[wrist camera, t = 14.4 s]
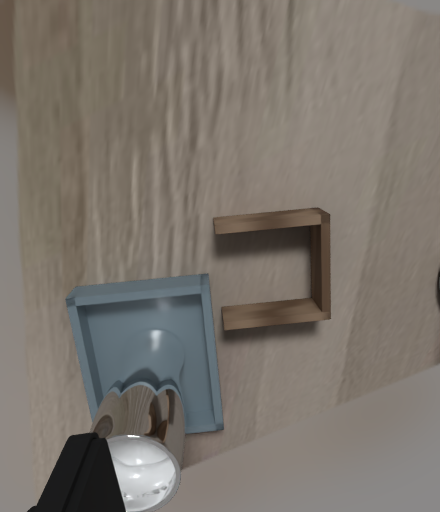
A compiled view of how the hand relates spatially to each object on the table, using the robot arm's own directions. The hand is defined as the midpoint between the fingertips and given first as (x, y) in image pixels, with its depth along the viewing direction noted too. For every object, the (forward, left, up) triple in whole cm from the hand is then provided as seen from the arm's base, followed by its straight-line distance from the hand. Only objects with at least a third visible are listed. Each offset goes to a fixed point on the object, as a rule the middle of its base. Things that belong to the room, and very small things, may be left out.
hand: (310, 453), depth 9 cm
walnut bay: (-4, +5, -29) cm, 30 cm away
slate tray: (+9, +13, -29) cm, 33 cm away
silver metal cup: (+8, +13, -28) cm, 32 cm away
